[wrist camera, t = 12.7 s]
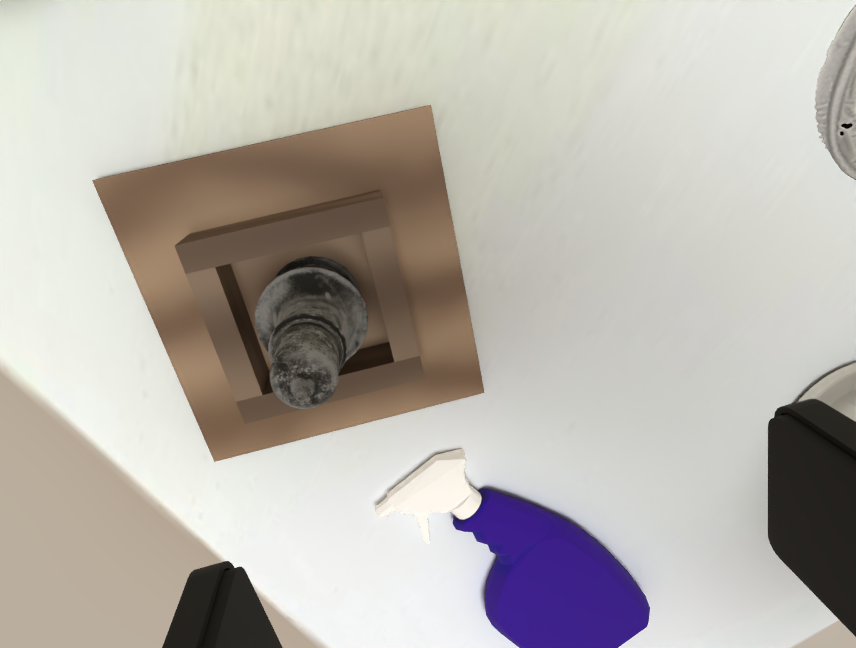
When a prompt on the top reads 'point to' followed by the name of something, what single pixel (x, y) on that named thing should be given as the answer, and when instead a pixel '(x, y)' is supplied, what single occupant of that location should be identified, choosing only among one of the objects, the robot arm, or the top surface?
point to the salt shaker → (310, 328)
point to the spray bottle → (529, 562)
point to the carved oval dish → (839, 97)
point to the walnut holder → (292, 239)
